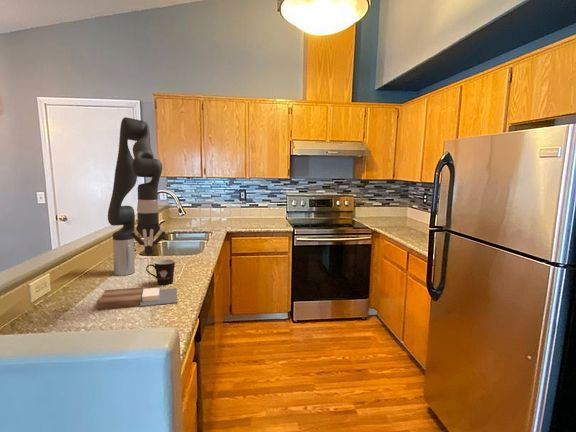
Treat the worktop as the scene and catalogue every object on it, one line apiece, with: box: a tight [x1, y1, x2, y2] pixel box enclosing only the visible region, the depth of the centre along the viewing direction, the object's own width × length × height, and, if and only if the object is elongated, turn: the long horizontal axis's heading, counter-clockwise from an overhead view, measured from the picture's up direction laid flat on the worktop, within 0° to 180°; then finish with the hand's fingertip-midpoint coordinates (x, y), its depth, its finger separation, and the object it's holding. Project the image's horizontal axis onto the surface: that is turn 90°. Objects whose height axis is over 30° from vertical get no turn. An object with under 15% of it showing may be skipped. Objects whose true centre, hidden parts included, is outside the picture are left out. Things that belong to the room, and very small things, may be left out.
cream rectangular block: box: [142, 287, 160, 302], centre depth 128 cm, size 9×6×2 cm, turn 21°
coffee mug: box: [145, 258, 176, 287], centre depth 146 cm, size 12×9×10 cm
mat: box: [139, 287, 178, 308], centre depth 129 cm, size 16×13×1 cm
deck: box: [96, 286, 144, 311], centre depth 124 cm, size 14×14×2 cm
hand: (148, 255), depth 125 cm, fingers closed
